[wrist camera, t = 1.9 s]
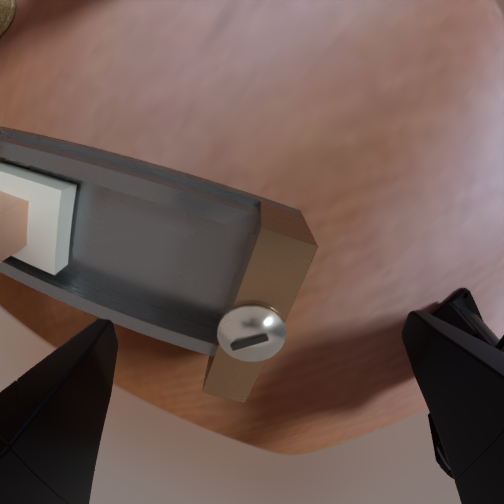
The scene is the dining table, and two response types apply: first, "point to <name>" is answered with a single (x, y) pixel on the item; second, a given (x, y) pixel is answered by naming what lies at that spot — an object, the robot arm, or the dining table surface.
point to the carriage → (35, 218)
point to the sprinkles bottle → (6, 13)
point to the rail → (171, 256)
